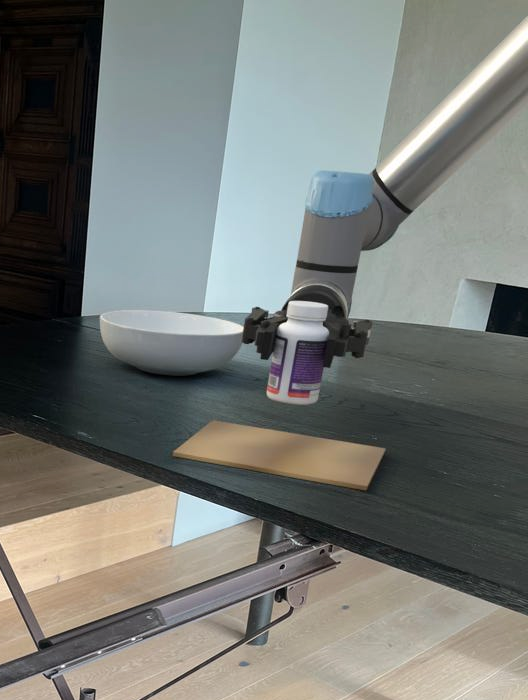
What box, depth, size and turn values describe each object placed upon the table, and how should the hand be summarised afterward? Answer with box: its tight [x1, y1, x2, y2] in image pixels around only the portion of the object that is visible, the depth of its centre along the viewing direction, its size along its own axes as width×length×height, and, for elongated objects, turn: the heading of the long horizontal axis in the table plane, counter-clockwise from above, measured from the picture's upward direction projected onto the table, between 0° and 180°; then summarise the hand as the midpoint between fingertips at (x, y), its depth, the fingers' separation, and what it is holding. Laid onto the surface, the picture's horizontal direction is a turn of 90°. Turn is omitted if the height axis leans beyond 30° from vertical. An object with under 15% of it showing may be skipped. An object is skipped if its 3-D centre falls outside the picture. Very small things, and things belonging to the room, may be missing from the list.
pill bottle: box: [266, 301, 329, 406], centre depth 103 cm, size 5×5×10 cm
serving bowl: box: [99, 309, 244, 377], centre depth 143 cm, size 21×21×7 cm
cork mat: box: [172, 419, 387, 491], centre depth 107 cm, size 20×16×1 cm
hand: (297, 349), depth 98 cm, fingers closed on pill bottle, 5 cm apart
